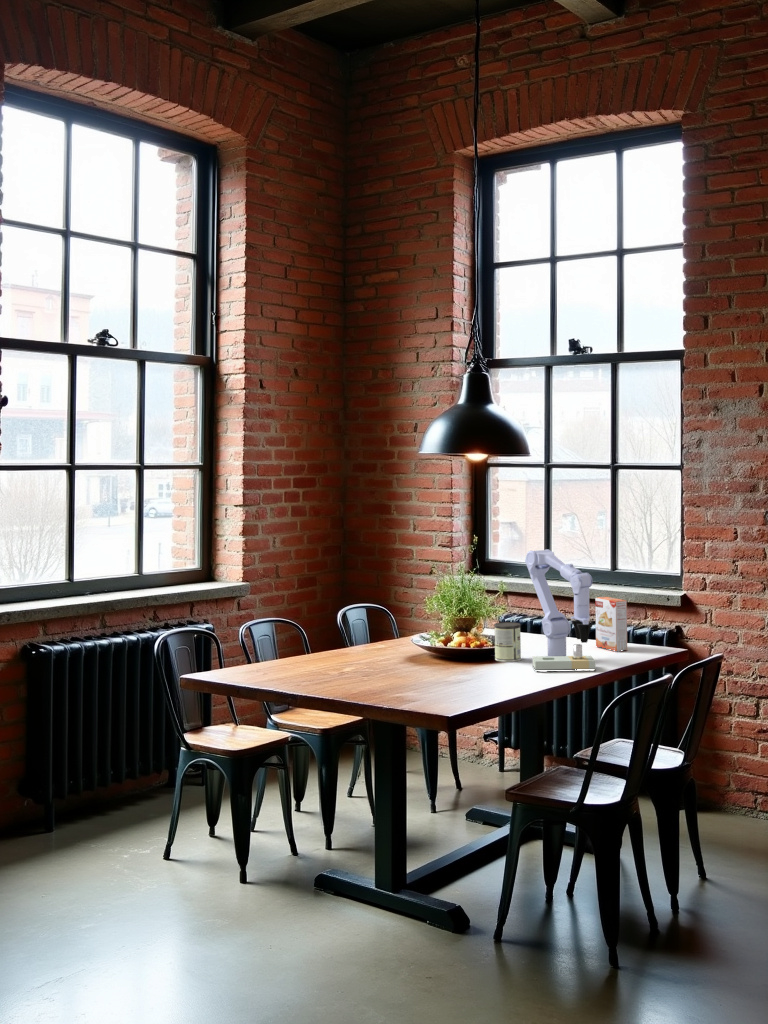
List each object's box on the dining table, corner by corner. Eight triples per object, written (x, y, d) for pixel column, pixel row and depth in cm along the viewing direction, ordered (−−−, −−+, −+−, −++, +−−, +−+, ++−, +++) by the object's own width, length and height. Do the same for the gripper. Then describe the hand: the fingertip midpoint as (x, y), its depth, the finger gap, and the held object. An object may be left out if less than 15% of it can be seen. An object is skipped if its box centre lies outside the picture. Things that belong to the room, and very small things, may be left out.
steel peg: (573, 665, 406) (572, 644, 406) (582, 665, 406) (581, 644, 406) (574, 667, 403) (573, 645, 403) (582, 666, 403) (582, 645, 403)
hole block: (532, 667, 410) (532, 656, 410) (591, 666, 409) (591, 655, 409) (535, 672, 400) (535, 661, 400) (595, 671, 400) (595, 660, 399)
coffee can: (494, 657, 432) (494, 622, 431) (520, 657, 431) (520, 622, 430) (494, 662, 422) (494, 626, 421) (521, 662, 421) (520, 626, 420)
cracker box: (595, 647, 450) (594, 597, 449) (606, 646, 453) (606, 596, 452) (615, 652, 437) (615, 600, 436) (627, 651, 440) (627, 599, 439)
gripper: (567, 602, 418) (567, 637, 418) (575, 607, 403) (575, 644, 404) (585, 602, 418) (585, 637, 418) (594, 607, 403) (594, 643, 404)
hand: (582, 640), depth 411 cm, fingers open, 7 cm apart
